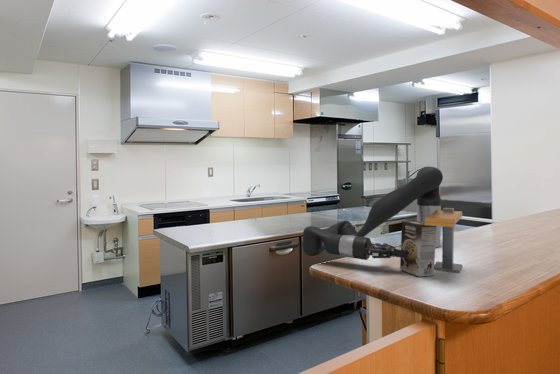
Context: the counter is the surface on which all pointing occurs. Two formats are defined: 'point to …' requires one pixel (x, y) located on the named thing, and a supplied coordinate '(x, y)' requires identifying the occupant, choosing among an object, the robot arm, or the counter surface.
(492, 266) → the counter surface
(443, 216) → the grey orange pedestal
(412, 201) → the robot arm
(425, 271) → the coffee box
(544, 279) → the counter surface
